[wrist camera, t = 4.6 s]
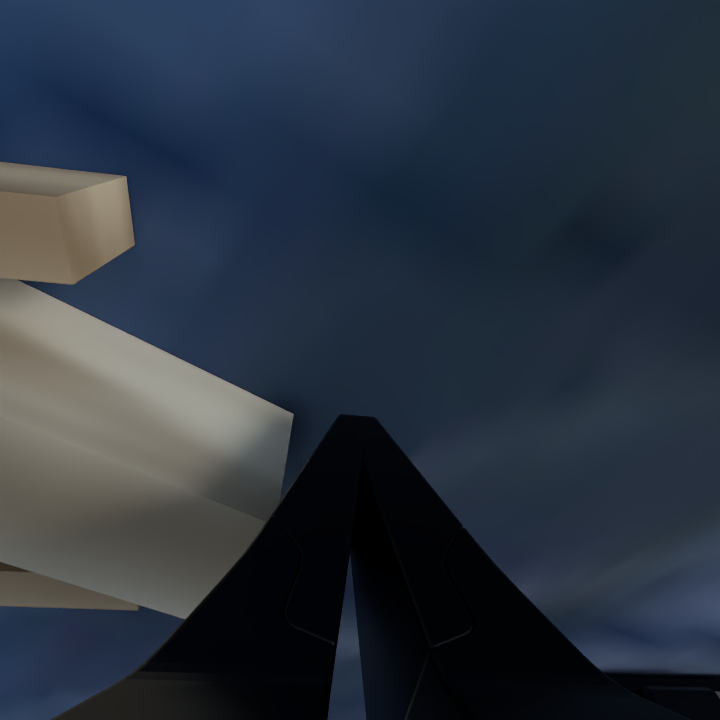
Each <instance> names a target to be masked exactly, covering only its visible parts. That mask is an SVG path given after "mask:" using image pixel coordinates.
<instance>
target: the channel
mask: <svg viewBox="0 0 720 720" xmlns="http://www.w3.org/2000/svg"><path fill="white" fill-rule="evenodd" d="M134 245H135V242H134V234H133V226H132V218H131V210H130V202H129V194H128V186H127V178H126V176H120V175H111V174H102V173H94V172H85V171H76V170H67V169H58V168H49V167H41V166H32V165H23V164H14V163H5V162H0V278H7V279H17V280H28V281H39V282H50V283H61V284H72V285H73V284H75V283H76V282H78V281H79V280H81V279H83V278H84V277H86V276H87V275H89V274H90V273H92V272H94V271H95V270H97V269H98V268H100V267H101V266H103V265H104V264H106V263H108V262H109V261H111V260H112V259H114V258H115V257H117V256H118V255H120V254H122V253H123V252H125V251H126V250H128V249H129V248H131V247H133V246H134ZM0 606H17V607H47V608H77V609H107V610H139V608H140V605H137V604H134V603H131V602H128V601H125V600H121V599H118V598H115V597H112V596H109V595H105V594H102V593H99V592H96V591H92V590H89V589H86V588H83V587H80V586H76V585H73V584H70V583H67V582H64V581H60V580H57V579H54V578H51V577H47V576H44V575H41V574H38V573H35V572H31V571H28V570H25V569H22V568H19V567H15V566H12V565H9V564H6V563H3V562H0Z"/></svg>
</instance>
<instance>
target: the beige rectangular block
mask: <svg viewBox="0 0 720 720" xmlns="http://www.w3.org/2000/svg"><path fill="white" fill-rule="evenodd" d="M293 415H294V414H293V413H291V412H288V411H286V410H284V409H282V408H280V407H278V406H276V405H274V404H272V403H270V402H268V401H266V400H264V399H262V398H260V397H258V396H256V395H253V394H251V393H249V392H247V391H245V390H243V389H241V388H239V387H237V386H235V385H233V384H231V383H229V382H227V381H225V380H223V379H221V378H218V377H216V376H214V375H212V374H210V373H208V372H206V371H204V370H202V369H200V368H198V367H196V366H194V365H192V364H190V363H188V362H185V361H183V360H181V359H179V358H177V357H175V356H173V355H171V354H169V353H167V352H165V351H163V350H161V349H159V348H157V347H155V346H153V345H150V344H148V343H146V342H144V341H142V340H140V339H138V338H136V337H134V336H132V335H130V334H128V333H126V332H124V331H122V330H120V329H118V328H115V327H113V326H111V325H109V324H107V323H105V322H103V321H101V320H99V319H97V318H95V317H93V316H91V315H89V314H87V313H85V312H82V311H80V310H78V309H76V308H74V307H72V306H70V305H68V304H66V303H64V302H62V301H60V300H58V299H56V298H54V297H52V296H50V295H47V294H45V293H43V292H41V291H39V290H37V289H35V288H33V287H31V286H29V285H27V284H25V283H23V282H21V281H19V280H17V279H7V278H0V562H3V563H6V564H9V565H12V566H15V567H19V568H22V569H25V570H28V571H31V572H35V573H38V574H41V575H44V576H47V577H51V578H54V579H57V580H60V581H64V582H67V583H70V584H73V585H76V586H80V587H83V588H86V589H89V590H92V591H96V592H99V593H102V594H105V595H109V596H112V597H115V598H118V599H121V600H125V601H128V602H131V603H134V604H137V605H141V606H144V607H147V608H150V609H153V610H157V611H160V612H163V613H166V614H170V615H173V616H176V617H179V618H182V619H186V618H187V617H188V616H189V615H190V613H191V612H192V611H193V610H194V609H195V608H196V607H197V606H198V605H199V603H200V602H201V601H202V600H203V599H204V598H205V597H206V596H207V595H208V593H209V592H210V591H211V590H212V589H213V588H214V587H215V586H216V585H217V583H218V582H219V581H220V580H221V579H222V578H223V577H224V576H225V574H226V573H227V572H228V571H229V570H230V568H231V567H232V566H233V565H234V564H235V563H236V561H237V560H238V559H239V558H240V557H241V556H242V554H243V553H244V552H245V550H246V549H247V548H248V546H249V545H250V544H251V542H252V541H253V540H254V538H255V537H256V535H257V534H258V533H259V531H260V530H261V528H262V527H263V525H264V524H265V523H266V521H267V520H268V518H269V517H271V514H272V513H273V511H274V510H275V508H276V507H277V505H278V504H279V502H280V496H281V490H282V484H283V478H284V471H285V465H286V459H287V453H288V446H289V440H290V434H291V428H292V422H293Z"/></svg>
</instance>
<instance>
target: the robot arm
mask: <svg viewBox="0 0 720 720" xmlns="http://www.w3.org/2000/svg"><path fill="white" fill-rule="evenodd" d="M349 556H351V566H352V576H353V586H354V597H355V607H356V617H357V627H358V637H359V647H360V658H361V668H362V678H363V688H364V698H365V708H366V719H367V720H720V679H677V678H633V677H608V676H607V675H605V674H604V673H603V672H602V671H601V670H599V669H598V668H597V667H596V666H595V665H594V664H592V663H591V662H590V661H589V660H588V659H587V658H586V657H585V656H584V655H583V654H582V653H581V652H580V651H579V650H578V649H577V648H576V647H575V646H574V645H573V644H572V643H571V642H570V641H569V640H568V639H567V638H566V637H565V636H564V635H563V634H562V633H561V632H560V631H559V630H558V629H557V628H556V627H555V626H554V625H553V624H552V623H551V622H550V621H549V620H548V618H547V617H546V616H545V615H544V614H543V613H542V612H541V611H540V610H539V609H538V608H537V607H536V606H535V605H534V604H533V603H532V602H531V601H530V600H529V599H528V598H527V597H526V596H525V595H524V594H523V593H522V592H521V591H520V590H519V589H518V588H517V587H516V586H515V585H514V584H513V583H512V582H511V580H510V579H509V578H508V577H507V576H506V575H505V574H504V573H503V572H502V571H501V570H500V569H499V568H498V567H497V566H496V564H495V563H494V562H493V561H492V560H491V559H490V557H489V556H488V555H487V554H486V553H485V552H484V550H483V549H482V548H481V547H480V546H479V545H478V543H477V542H476V541H475V540H474V538H473V537H472V536H471V535H470V534H469V532H468V531H467V530H466V529H465V528H463V526H462V524H461V523H460V521H459V520H458V519H457V518H456V517H455V515H454V514H453V513H452V512H451V510H450V509H449V508H448V507H447V505H446V504H445V503H444V502H443V501H442V499H441V498H440V497H439V496H438V494H437V493H436V492H435V491H434V489H433V488H432V487H431V486H430V484H429V483H428V482H427V481H426V480H425V478H424V477H423V476H422V475H421V473H420V472H419V471H418V470H417V468H416V467H415V466H414V465H413V463H412V462H411V461H410V460H409V459H408V457H407V456H406V455H405V454H404V452H403V451H402V450H401V449H400V447H399V446H398V445H397V444H396V443H395V441H394V440H393V439H392V438H391V436H390V435H389V434H388V433H387V431H386V430H385V429H384V428H383V426H382V425H381V424H380V423H379V422H378V420H377V419H376V418H374V417H368V416H356V415H344V414H341V415H339V416H338V417H337V419H336V420H335V422H334V423H333V425H332V426H331V428H330V429H329V430H328V432H327V433H326V435H325V436H324V438H323V439H322V441H321V442H320V444H319V445H318V447H317V448H316V450H315V451H314V452H313V454H312V455H311V457H310V458H309V460H308V461H307V463H306V464H305V466H304V467H303V469H302V470H301V472H300V473H299V474H298V476H297V477H296V479H295V480H294V482H293V483H292V485H291V486H290V488H289V489H288V491H287V492H286V494H285V495H284V497H283V498H282V499H281V501H280V502H279V504H278V505H277V507H276V508H275V510H274V511H273V513H272V514H271V517H269V518H268V520H267V521H266V523H265V524H264V525H263V527H262V528H261V530H260V531H259V533H258V534H257V535H256V537H255V538H254V540H253V541H252V542H251V544H250V545H249V546H248V548H247V549H246V550H245V552H244V553H243V554H242V556H241V557H240V558H239V559H238V560H237V561H236V563H235V564H234V565H233V566H232V567H231V568H230V570H229V571H228V572H227V573H226V574H225V576H224V577H223V578H222V579H221V580H220V581H219V582H218V583H217V585H216V586H215V587H214V588H213V589H212V590H211V591H210V592H209V593H208V595H207V596H206V597H205V598H204V599H203V600H202V601H201V602H200V603H199V605H198V606H197V607H196V608H195V609H194V610H193V611H192V612H191V613H190V615H189V616H188V617H187V618H186V619H185V620H184V621H183V622H182V623H181V625H180V626H179V627H178V628H177V629H176V630H175V631H174V632H173V633H172V635H171V636H170V637H169V638H168V639H167V640H166V641H165V642H164V643H163V644H162V645H161V646H160V648H159V649H158V650H157V651H156V652H155V653H154V654H153V655H152V656H151V657H150V658H149V659H148V660H146V661H145V662H144V663H143V664H142V665H141V666H139V667H138V668H137V669H136V670H135V671H133V672H132V673H131V674H129V675H128V676H127V677H125V678H124V679H122V680H121V681H119V682H118V683H116V684H114V685H113V686H111V687H109V688H107V689H105V690H104V691H102V692H100V693H98V694H96V695H95V696H93V697H91V698H89V699H87V700H86V701H84V702H82V703H80V704H78V705H76V706H75V707H73V708H71V709H69V710H67V711H66V712H64V713H62V714H60V715H58V716H57V717H55V718H53V719H51V720H327V719H328V710H329V701H330V693H331V685H332V678H333V670H334V663H335V656H336V648H337V641H338V634H339V627H340V620H341V613H342V606H343V598H344V591H345V584H346V577H347V570H348V563H349Z"/></svg>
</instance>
